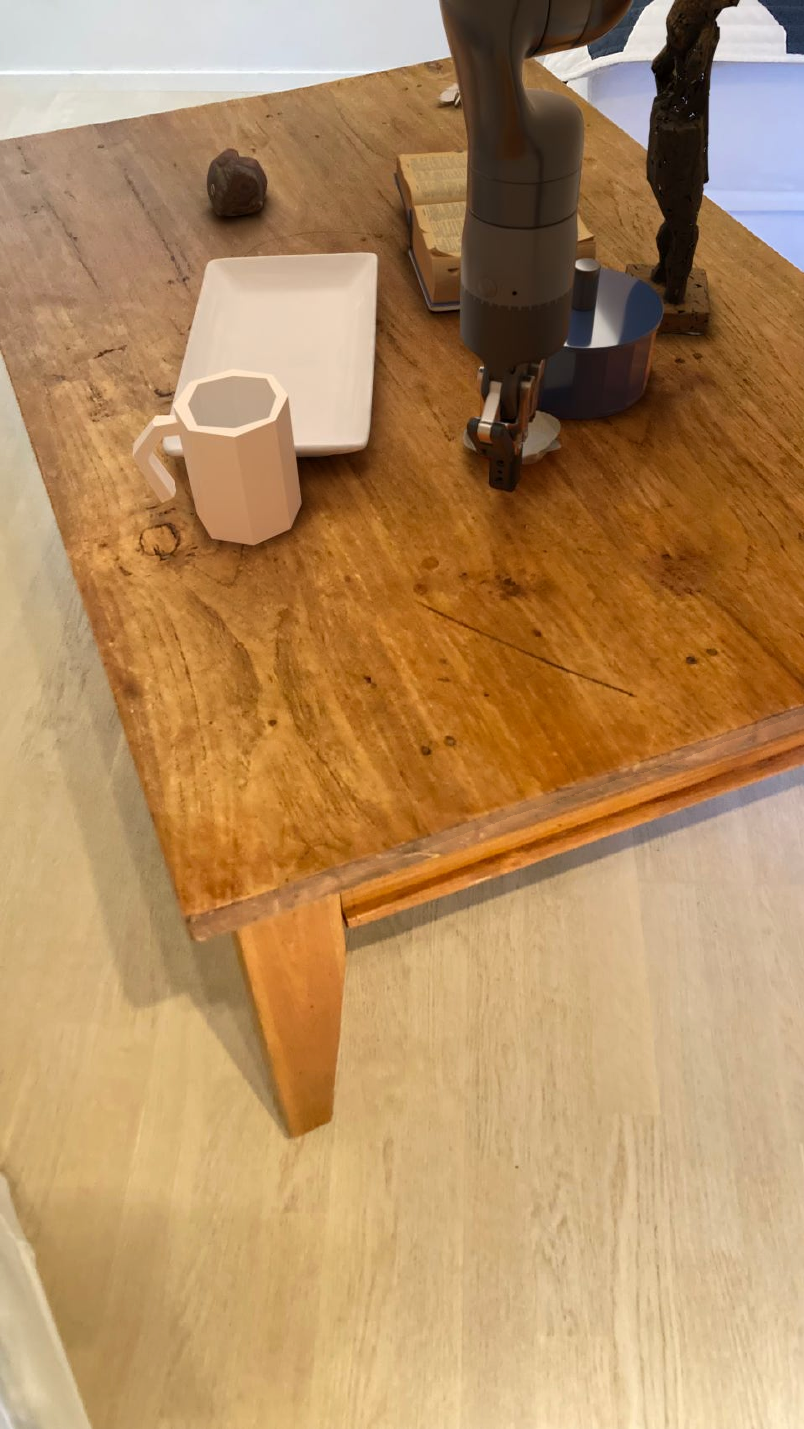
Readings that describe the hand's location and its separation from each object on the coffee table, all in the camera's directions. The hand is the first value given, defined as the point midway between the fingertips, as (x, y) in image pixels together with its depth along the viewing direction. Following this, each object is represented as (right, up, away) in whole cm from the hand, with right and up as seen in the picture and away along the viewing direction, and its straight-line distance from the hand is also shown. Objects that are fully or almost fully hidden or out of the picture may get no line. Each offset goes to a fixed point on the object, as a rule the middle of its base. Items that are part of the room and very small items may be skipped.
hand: (504, 484), depth 83 cm
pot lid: (+7, +16, +6) cm, 19 cm away
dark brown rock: (-26, +38, +35) cm, 58 cm away
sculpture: (+17, +21, +18) cm, 32 cm away
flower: (0, +60, +52) cm, 79 cm away
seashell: (+1, +4, +5) cm, 6 cm away
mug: (-22, -2, 0) cm, 22 cm away
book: (+1, +31, +27) cm, 41 cm away
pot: (+7, +12, +11) cm, 18 cm away
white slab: (-19, +13, +13) cm, 26 cm away
